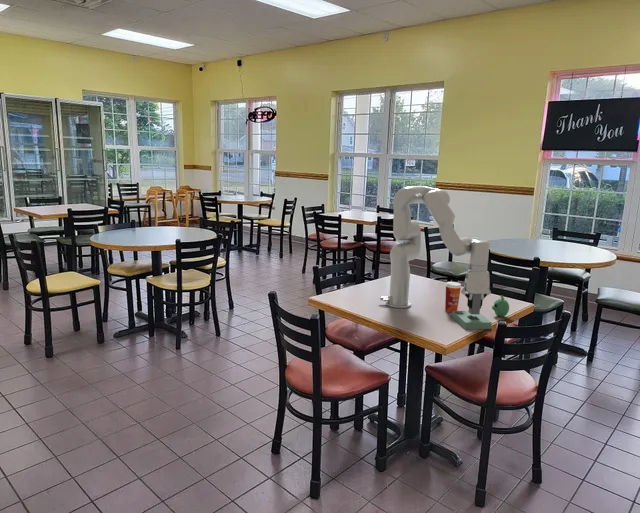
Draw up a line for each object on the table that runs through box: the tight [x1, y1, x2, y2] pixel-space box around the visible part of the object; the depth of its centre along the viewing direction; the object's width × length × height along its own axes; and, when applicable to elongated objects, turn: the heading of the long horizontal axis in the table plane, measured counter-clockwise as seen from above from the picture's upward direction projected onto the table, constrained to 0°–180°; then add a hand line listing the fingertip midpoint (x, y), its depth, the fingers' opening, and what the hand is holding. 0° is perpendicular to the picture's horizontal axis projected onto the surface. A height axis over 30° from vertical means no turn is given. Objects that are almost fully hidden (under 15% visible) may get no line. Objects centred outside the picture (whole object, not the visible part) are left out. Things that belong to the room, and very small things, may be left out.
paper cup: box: [444, 281, 462, 314], centre depth 232 cm, size 8×8×14 cm
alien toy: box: [491, 295, 510, 318], centre depth 227 cm, size 7×8×10 cm
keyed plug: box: [468, 294, 481, 314], centre depth 214 cm, size 4×5×10 cm
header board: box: [451, 310, 493, 330], centre depth 217 cm, size 12×16×3 cm
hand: (474, 307), depth 214 cm, fingers closed on keyed plug, 3 cm apart
